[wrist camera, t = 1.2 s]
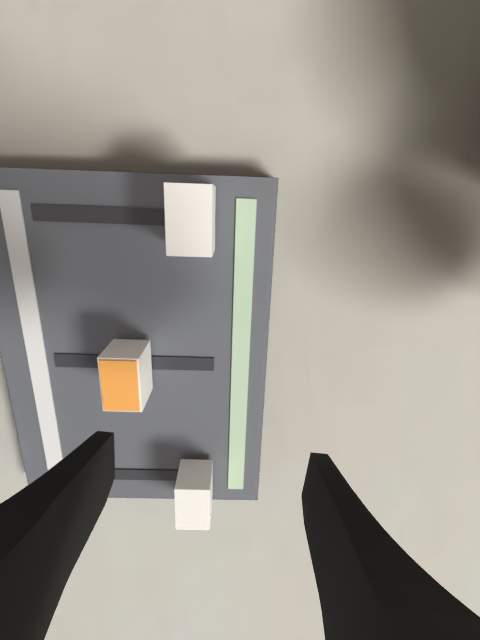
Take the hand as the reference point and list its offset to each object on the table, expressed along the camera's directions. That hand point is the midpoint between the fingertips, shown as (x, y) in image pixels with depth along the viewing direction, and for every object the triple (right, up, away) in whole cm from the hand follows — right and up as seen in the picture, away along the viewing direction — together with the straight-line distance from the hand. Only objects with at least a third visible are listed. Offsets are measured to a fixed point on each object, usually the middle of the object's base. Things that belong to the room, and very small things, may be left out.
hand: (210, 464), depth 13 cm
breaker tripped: (-5, +3, +7) cm, 9 cm away
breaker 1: (-1, +10, +4) cm, 11 cm away
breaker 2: (-2, -5, +10) cm, 11 cm away
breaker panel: (-5, +3, +9) cm, 10 cm away
